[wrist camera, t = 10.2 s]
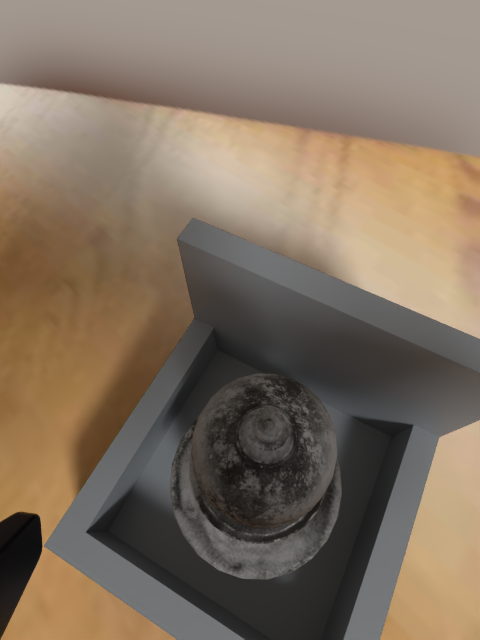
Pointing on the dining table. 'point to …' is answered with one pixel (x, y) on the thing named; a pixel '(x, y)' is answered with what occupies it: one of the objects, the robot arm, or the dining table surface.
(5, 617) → the robot arm
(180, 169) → the dining table surface
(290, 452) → the salt shaker
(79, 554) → the shaker rack
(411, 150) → the dining table surface
